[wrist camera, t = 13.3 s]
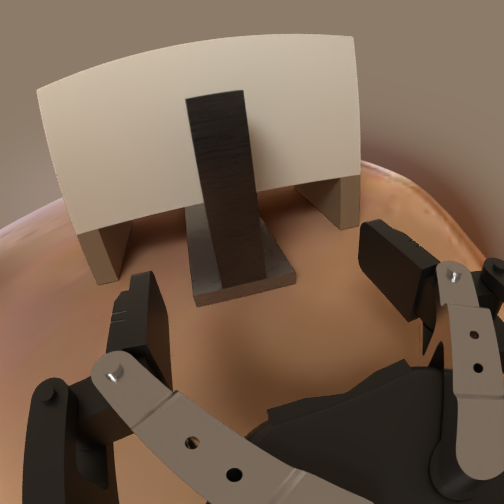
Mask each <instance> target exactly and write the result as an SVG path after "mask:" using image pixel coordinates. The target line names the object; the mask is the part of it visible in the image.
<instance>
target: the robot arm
mask: <svg viewBox="0 0 504 504" xmlns="http://www.w3.org/2000/svg"><path fill="white" fill-rule="evenodd" d="M358 260H359V265H360V268H361V269H362V271H363V272H364V273H365V274H366V276H367V277H368V278H369V279H370V280H371V281H372V282H373V283H374V284H375V285H376V286H377V288H378V289H379V290H380V291H381V292H382V293H383V294H384V295H385V296H386V298H387V299H388V300H389V301H390V302H391V303H392V304H393V305H394V307H395V308H396V309H397V310H398V311H399V312H400V313H401V315H402V316H403V317H404V318H405V319H406V320H407V322H410V321H412V320H415V319H417V318H419V317H420V319H421V323H420V327H419V361H418V366H417V367H410V366H409V365H408V363H407V362H406V361H405V359H403V360H401V361H398V362H396V363H394V364H392V365H390V366H387V367H385V368H383V369H381V370H378V371H376V372H374V373H373V374H372V375H370V376H369V377H368V378H366V379H365V380H364V381H362V382H361V383H360V384H358V385H357V386H356V387H354V388H353V389H351V390H350V391H348V392H346V393H344V394H337V395H330V396H322V397H313V398H304V399H301V400H298V401H295V402H292V403H288V404H285V405H282V406H278V407H275V408H271V409H268V410H267V413H268V419H269V420H267V421H266V422H264V423H262V424H260V425H259V426H258V427H256V428H255V429H253V430H252V431H251V432H250V433H249V434H248V435H247V436H246V437H245V438H243V437H242V436H240V435H239V434H237V433H236V432H234V431H233V430H231V429H230V428H228V427H227V426H225V425H224V424H223V423H221V422H220V421H218V420H217V419H216V418H214V417H213V416H212V415H210V414H209V413H207V412H206V411H205V410H203V409H202V408H201V407H199V406H198V405H197V404H196V403H194V402H193V401H192V400H190V399H189V398H188V397H187V396H185V395H184V394H183V393H181V392H179V391H177V390H176V391H175V392H173V385H172V373H171V359H170V343H169V322H168V314H167V310H166V306H165V303H164V301H163V298H162V295H161V293H160V290H159V287H158V284H157V282H156V279H155V276H154V274H153V272H152V271H148V272H144V273H139V274H135V275H132V276H131V281H130V287H129V290H128V291H123V292H121V293H120V295H119V296H118V298H117V299H116V300H115V302H114V306H113V312H112V313H113V315H112V317H111V324H110V329H109V335H108V342H107V348H106V354H105V355H104V356H102V357H101V358H100V359H98V360H97V362H96V363H95V364H94V366H93V368H92V371H91V376H90V377H88V378H86V379H84V380H82V381H79V382H77V383H75V384H73V385H70V386H68V385H67V384H66V383H65V382H64V381H63V380H62V379H60V378H49V379H47V380H45V381H43V382H42V383H40V384H39V385H38V386H37V388H36V389H35V391H34V393H33V395H32V399H31V405H30V411H29V418H28V425H27V432H26V441H25V451H24V464H23V486H22V504H119V499H118V491H117V482H116V473H115V462H114V448H113V442H114V441H117V440H119V439H122V438H124V437H126V436H129V435H131V434H133V433H135V434H136V436H137V437H138V438H139V439H140V440H141V441H142V442H143V443H144V444H145V445H146V446H147V447H148V448H149V449H150V450H151V451H152V452H153V453H154V454H155V455H156V456H157V457H158V458H159V459H160V460H161V461H162V462H163V463H164V464H165V465H166V466H167V467H168V468H170V469H171V470H172V471H173V472H174V473H175V474H176V475H177V476H178V477H180V478H181V479H182V480H183V481H184V482H185V483H186V484H188V485H189V486H190V487H191V488H192V489H193V490H195V491H196V492H197V493H198V494H200V495H201V496H202V497H203V498H205V499H206V500H207V502H206V504H504V383H503V375H502V372H503V374H504V322H503V321H502V320H501V319H500V318H499V317H498V316H497V314H498V312H499V310H500V308H501V305H502V303H503V302H504V261H502V260H500V259H497V258H488V259H486V260H485V261H484V264H483V267H482V271H474V272H470V271H469V270H468V269H467V268H466V267H465V266H464V265H462V264H460V263H457V262H453V261H444V262H440V261H439V260H437V259H436V258H435V257H434V256H432V255H431V254H430V253H429V252H428V251H426V250H425V249H424V248H423V247H421V246H419V244H417V243H416V242H415V241H412V239H411V238H410V237H408V236H407V235H406V234H404V233H403V232H400V231H398V230H395V229H393V228H392V227H390V226H389V225H388V224H386V223H385V222H384V221H382V220H380V219H377V220H373V221H369V222H364V223H362V224H361V227H360V239H359V253H358Z"/></svg>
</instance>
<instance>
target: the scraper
mask: <svg viewBox="0 0 504 504" xmlns="http://www.w3.org/2000/svg"><path fill="white" fill-rule="evenodd" d="M185 104H186V110H187V116H188V122H189V127H190V133H191V139H192V144H193V150H194V155H195V161H196V166H197V171H198V177H199V182H200V187H201V192H202V197H203V202H204V203H200V204H196V205H191V206H187V207H185V218H186V230H187V242H188V252H189V262H190V272H191V281H192V290H193V297H194V300H195V303H196V306H197V307H201V306H206V305H210V304H215V303H219V302H224V301H228V300H232V299H236V298H241V297H245V296H249V295H253V294H257V293H261V292H265V291H269V290H273V289H277V288H281V287H285V286H289V285H293V284H295V271H294V270H293V268H292V266H291V265H290V263H289V262H288V260H287V258H286V257H285V255H284V254H283V252H282V250H281V249H280V247H279V246H278V244H277V242H276V241H275V239H274V238H273V236H272V235H271V233H270V231H269V230H268V228H267V227H266V225H265V224H264V222H263V220H262V219H261V217H260V216H259V209H258V201H257V193H256V185H255V177H254V169H253V161H252V153H251V145H250V137H249V129H248V122H247V114H246V106H245V99H244V91H243V90H232V91H225V92H219V93H212V94H206V95H201V96H195V97H190V98H185Z"/></svg>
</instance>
